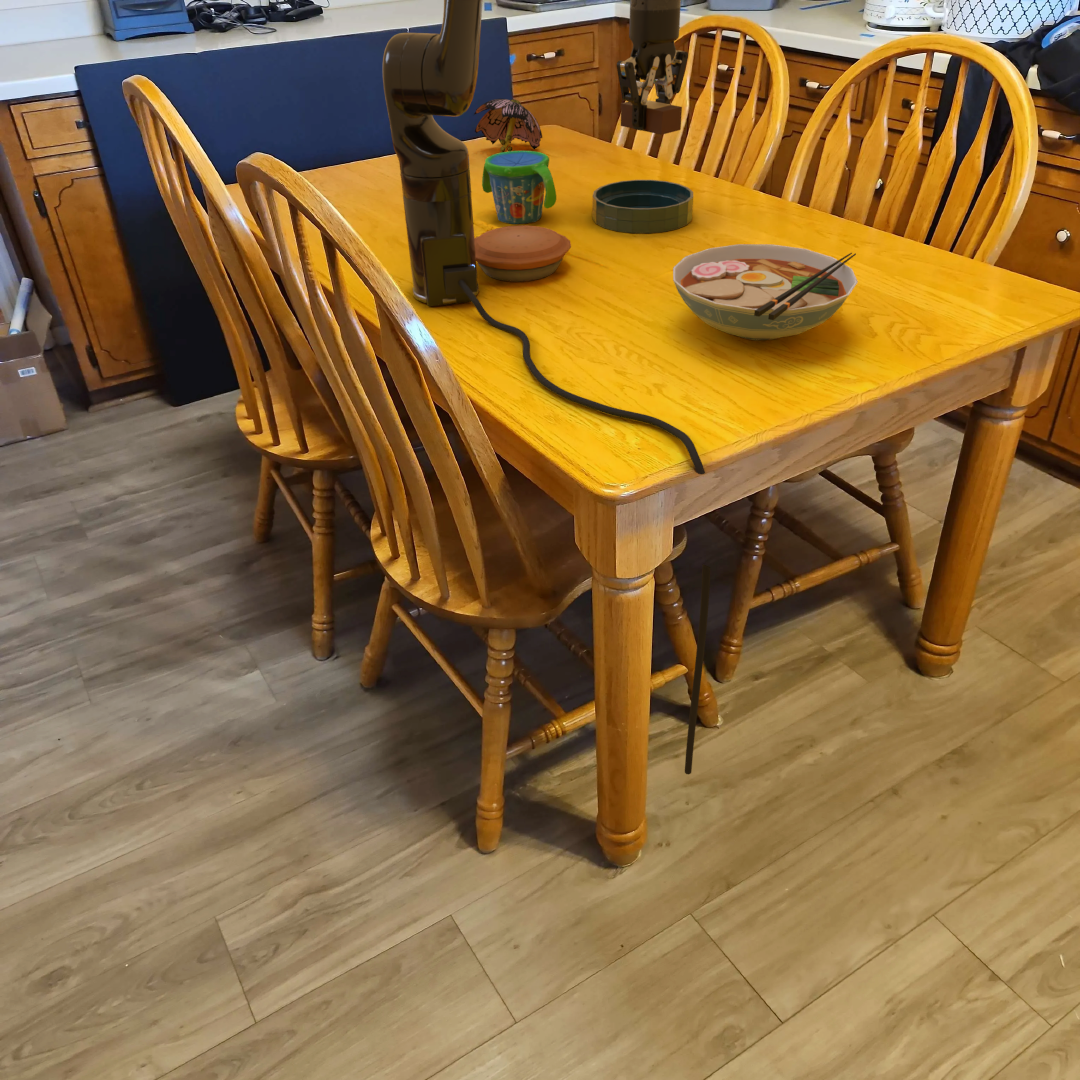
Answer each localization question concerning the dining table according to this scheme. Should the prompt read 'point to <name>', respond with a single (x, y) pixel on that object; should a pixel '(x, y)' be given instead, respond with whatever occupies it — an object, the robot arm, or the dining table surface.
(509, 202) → the snack cup
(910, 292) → the dining table surface
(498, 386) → the dining table surface
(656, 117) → the oat bar
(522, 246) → the pie
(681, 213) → the snack bowl
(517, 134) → the decorative flower
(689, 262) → the ramen bowl
